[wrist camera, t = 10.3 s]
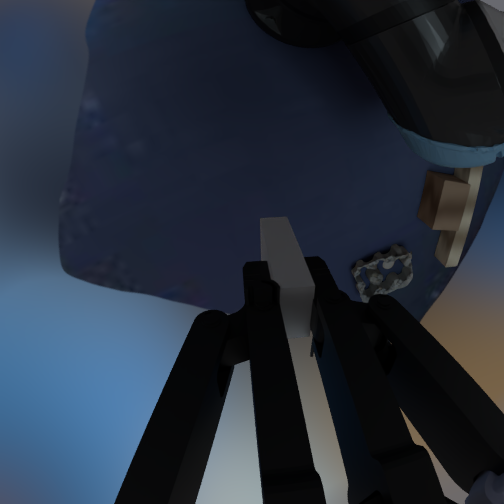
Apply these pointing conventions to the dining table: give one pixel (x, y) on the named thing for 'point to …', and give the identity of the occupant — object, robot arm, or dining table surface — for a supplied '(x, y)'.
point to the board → (455, 240)
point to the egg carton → (376, 277)
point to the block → (443, 201)
